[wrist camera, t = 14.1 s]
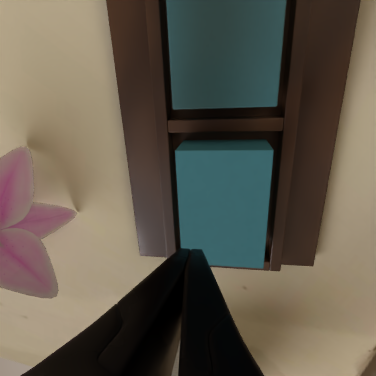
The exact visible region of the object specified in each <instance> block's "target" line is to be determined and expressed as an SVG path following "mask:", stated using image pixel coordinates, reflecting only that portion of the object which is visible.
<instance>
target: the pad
mask: <svg viewBox="0 0 376 376" xmlns="http://www.w3.org/2000/svg"><path fill="white" fill-rule="evenodd" d="M273 153H274V150H273V149H272V147H271V146H270V144H269V143H268V141H267V140H266V139H249V140H183V142H182V143H181V144H180V145H179V147H178V148H177V149H176V150H175V159H176V175H177V192H178V208H179V224H180V241H181V248H188V249H190V250H191V249H202V250H203V252H204V254H205V257H206V259H207V261H208V263H209V265H215V266H231V267H246V268H262V269H263V268H264V257H265V246H266V234H267V222H268V211H269V199H270V187H271V176H272V164H273Z"/></svg>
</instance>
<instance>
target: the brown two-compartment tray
mask: <svg viewBox="0 0 376 376" xmlns="http://www.w3.org/2000/svg"><path fill="white" fill-rule="evenodd" d="M106 2H107V10H108V17H109V25H110V32H111V40H112V47H113V55H114V62H115V70H116V78H117V85H118V93H119V100H120V108H121V115H122V123H123V130H124V138H125V145H126V153H127V161H128V168H129V176H130V183H131V191H132V198H133V206H134V213H135V221H136V229H137V236H138V244H139V251H140V256H154V257H167V259H168V258H169V257H170V256H171V255H172V254H173V253H175V252H176V251H177V250H178V249H179V248H181V241H180V224H179V208H178V192H177V175H176V159H175V150H176V149H177V148H178V147H179V145H180V144H181V143H182V142H183V140H249V139H266V140H267V141H268V143H269V144H270V146H271V147H272V149H273V150H274V153H273V164H272V176H271V187H270V199H269V211H268V222H267V234H266V246H265V257H264V268H263V269H262V268H246V267H231V266H215V265H209V266H210V267H221V268H236V269H251V270H266V271H269V270H270V271H280V268H281V264H283V265H299V266H313V265H314V259H315V254H316V248H317V242H318V237H319V231H320V225H321V220H322V214H323V209H324V203H325V197H326V192H327V186H328V180H329V175H330V169H331V163H332V158H333V152H334V147H335V141H336V135H337V130H338V124H339V118H340V113H341V107H342V101H343V96H344V90H345V85H346V79H347V73H348V68H349V62H350V56H351V51H352V45H353V39H354V34H355V28H356V23H357V17H358V11H359V6H360V0H106Z"/></svg>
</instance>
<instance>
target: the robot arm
mask: <svg viewBox="0 0 376 376" xmlns="http://www.w3.org/2000/svg"><path fill="white" fill-rule="evenodd" d="M179 343H180V352H179V369H178V376H264V374H263V373H262V371H261V370H260V368H259V366H258V365H257V363H256V361H255V360H254V358H253V357H252V355H251V353H250V351H249V350H248V348H247V346H246V344H245V343H244V341H243V339H242V337H241V335H240V333H239V331H238V329H237V327H236V325H235V322H234V320H233V318H232V316H231V314H230V311H229V309H228V307H227V305H226V302H225V300H224V298H223V295H222V293H221V291H220V289H219V286H218V284H217V282H216V279H215V277H214V275H213V273H212V270H211V268H210V266H209V263H208V261H207V259H206V257H205V254H204V252H203V250H202V249H191V250H190V249H188V248H179V249H178V250H177V251H176V252H175V253H173V254H172V255H171V256H170V257H169V258H168V259H167V260H165V261H164V262H163V263H162V264H161V265H160V266H159V267H157V268H156V269H155V270H154V271H153V272H152V273H151V274H149V275H148V276H147V277H146V278H145V279H144V280H143V281H141V282H140V283H139V284H138V285H137V286H136V287H135V288H133V289H132V290H131V291H130V292H129V293H128V294H127V295H125V296H124V297H123V298H122V299H121V300H120V301H119V302H118V303H117V304H115V305H114V306H113V307H112V308H111V309H109V310H108V311H107V312H106V313H105V314H104V315H102V316H101V317H100V318H99V319H98V320H96V321H95V322H94V323H93V324H91V325H90V326H89V327H87V328H86V329H85V330H84V331H82V332H81V333H80V334H78V335H77V336H76V337H74V338H73V339H71V340H70V341H69V342H67V343H66V344H65V345H63V346H62V347H61V348H59V349H58V350H56V351H55V352H54V353H52V354H51V355H50V356H48V357H47V358H46V359H44V360H43V361H41V362H40V363H39V364H37V365H36V366H35V367H33V368H32V369H30V370H29V371H27V372H26V373H24V374H22V375H21V376H171V375H172V371H173V367H174V363H175V359H176V355H177V351H178V347H179Z"/></svg>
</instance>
